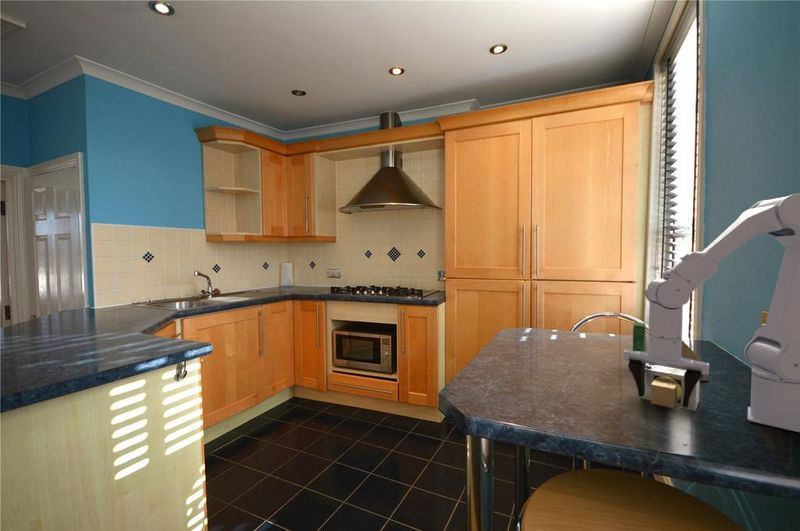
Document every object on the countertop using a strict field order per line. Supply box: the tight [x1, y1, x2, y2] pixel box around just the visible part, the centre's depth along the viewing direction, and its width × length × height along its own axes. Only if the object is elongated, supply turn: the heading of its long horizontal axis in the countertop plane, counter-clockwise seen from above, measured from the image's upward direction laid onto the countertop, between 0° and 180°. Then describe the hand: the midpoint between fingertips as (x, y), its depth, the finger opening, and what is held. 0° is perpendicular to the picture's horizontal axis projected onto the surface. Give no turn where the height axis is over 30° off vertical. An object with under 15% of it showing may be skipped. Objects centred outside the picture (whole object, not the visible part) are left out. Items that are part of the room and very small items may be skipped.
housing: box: [639, 363, 701, 412], centre depth 84 cm, size 10×7×7 cm
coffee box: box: [632, 321, 647, 352], centre depth 107 cm, size 8×3×13 cm, turn 144°
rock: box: [681, 339, 710, 382], centre depth 100 cm, size 11×9×10 cm
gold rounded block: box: [650, 376, 683, 409], centre depth 82 cm, size 12×6×6 cm, turn 137°
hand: (662, 400), depth 79 cm, fingers open, 7 cm apart
